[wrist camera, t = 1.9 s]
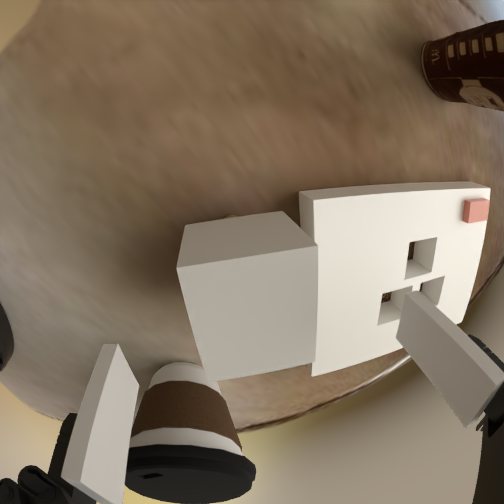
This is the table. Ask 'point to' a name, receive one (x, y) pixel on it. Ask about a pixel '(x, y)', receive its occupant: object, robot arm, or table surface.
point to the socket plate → (389, 260)
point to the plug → (250, 293)
